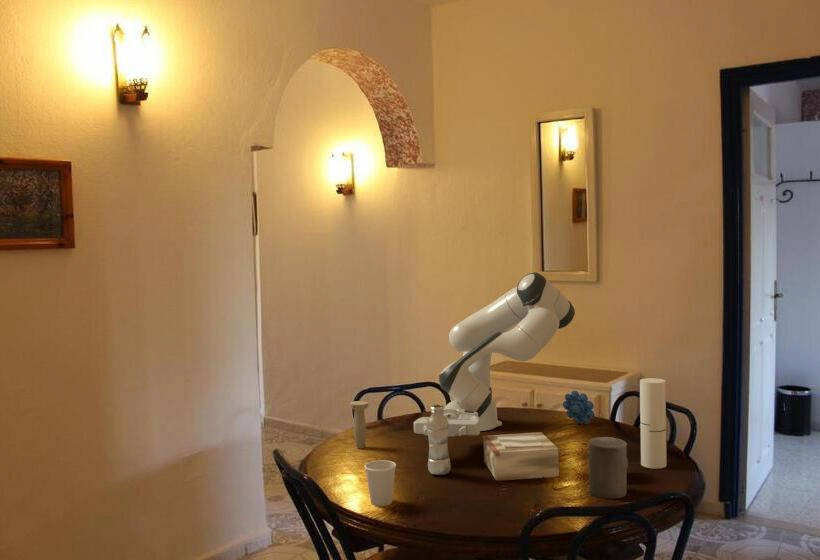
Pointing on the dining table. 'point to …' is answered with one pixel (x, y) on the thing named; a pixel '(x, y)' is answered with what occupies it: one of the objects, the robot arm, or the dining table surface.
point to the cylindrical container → (653, 422)
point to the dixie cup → (380, 481)
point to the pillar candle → (608, 467)
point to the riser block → (521, 456)
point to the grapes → (578, 407)
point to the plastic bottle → (438, 441)
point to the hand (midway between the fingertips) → (442, 433)
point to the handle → (359, 422)
